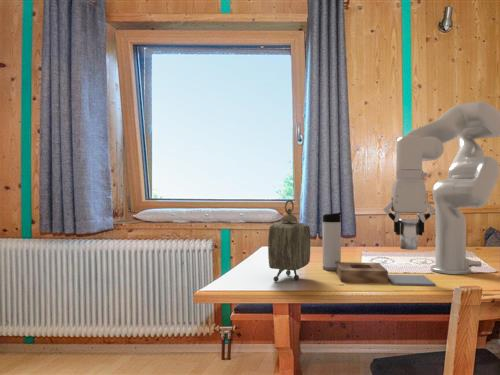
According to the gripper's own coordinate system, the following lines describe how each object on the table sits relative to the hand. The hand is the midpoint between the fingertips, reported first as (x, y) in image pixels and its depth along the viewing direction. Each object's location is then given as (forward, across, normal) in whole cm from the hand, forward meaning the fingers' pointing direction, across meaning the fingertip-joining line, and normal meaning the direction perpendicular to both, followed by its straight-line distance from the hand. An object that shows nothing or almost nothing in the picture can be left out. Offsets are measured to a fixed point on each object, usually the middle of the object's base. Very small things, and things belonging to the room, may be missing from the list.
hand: (408, 234), depth 135 cm
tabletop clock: (+15, +36, +1) cm, 39 cm away
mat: (+14, 0, 0) cm, 14 cm away
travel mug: (+15, +22, -17) cm, 31 cm away
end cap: (+4, 0, 0) cm, 4 cm away
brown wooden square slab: (+14, +14, -4) cm, 20 cm away
